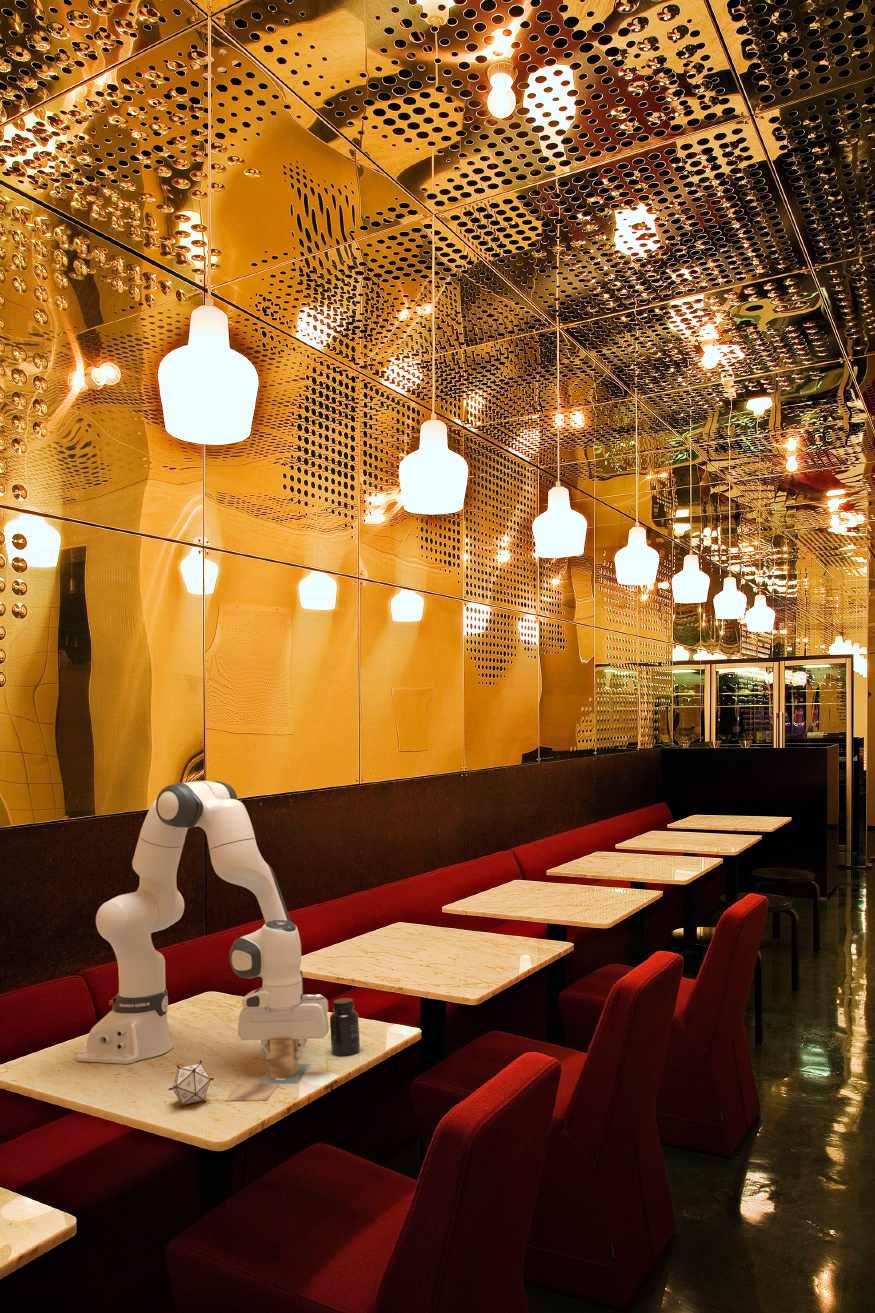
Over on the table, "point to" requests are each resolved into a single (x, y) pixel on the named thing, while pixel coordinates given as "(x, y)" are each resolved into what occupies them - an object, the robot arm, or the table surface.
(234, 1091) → the cork mat
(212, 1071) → the table surface
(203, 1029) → the table surface
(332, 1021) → the supplement bottle
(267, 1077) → the tile
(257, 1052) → the table surface
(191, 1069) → the game die
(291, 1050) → the oak block
